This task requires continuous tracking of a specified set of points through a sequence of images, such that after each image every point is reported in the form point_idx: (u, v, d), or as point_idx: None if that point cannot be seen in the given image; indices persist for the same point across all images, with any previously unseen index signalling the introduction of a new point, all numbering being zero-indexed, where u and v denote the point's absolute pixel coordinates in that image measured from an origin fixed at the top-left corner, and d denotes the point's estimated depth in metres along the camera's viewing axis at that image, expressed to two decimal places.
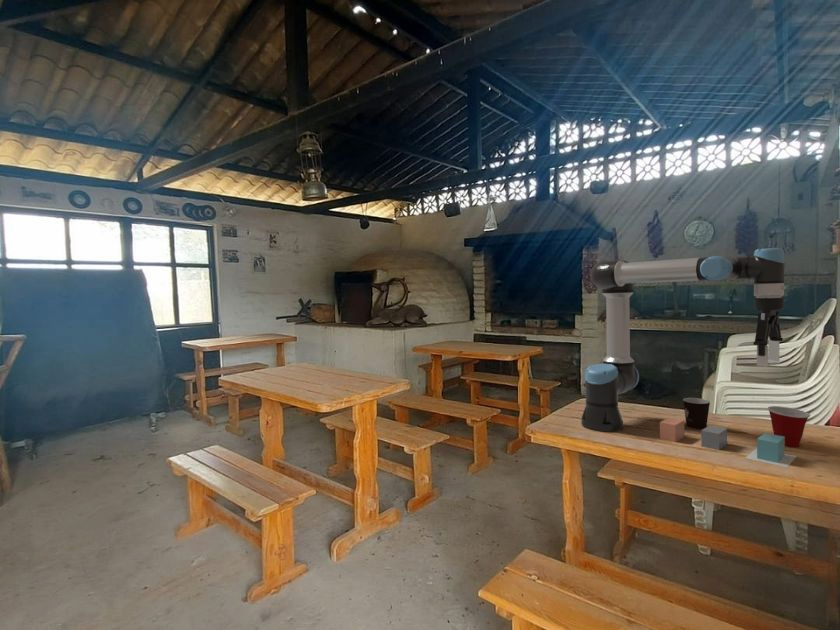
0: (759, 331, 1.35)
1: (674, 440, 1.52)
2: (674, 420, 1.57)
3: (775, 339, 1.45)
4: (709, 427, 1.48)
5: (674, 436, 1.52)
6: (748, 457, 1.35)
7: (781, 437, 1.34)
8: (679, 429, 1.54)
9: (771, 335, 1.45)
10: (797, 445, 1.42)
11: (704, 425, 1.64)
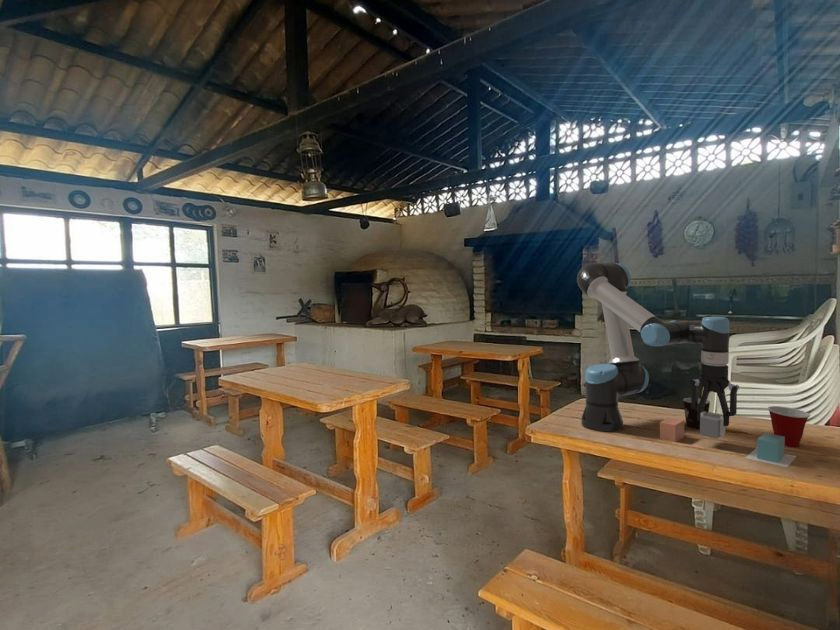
0: None
1: (674, 440, 1.52)
2: (674, 420, 1.57)
3: None
4: (708, 414, 1.48)
5: (674, 436, 1.52)
6: (748, 457, 1.35)
7: (781, 437, 1.34)
8: (679, 429, 1.54)
9: None
10: (797, 445, 1.42)
11: None
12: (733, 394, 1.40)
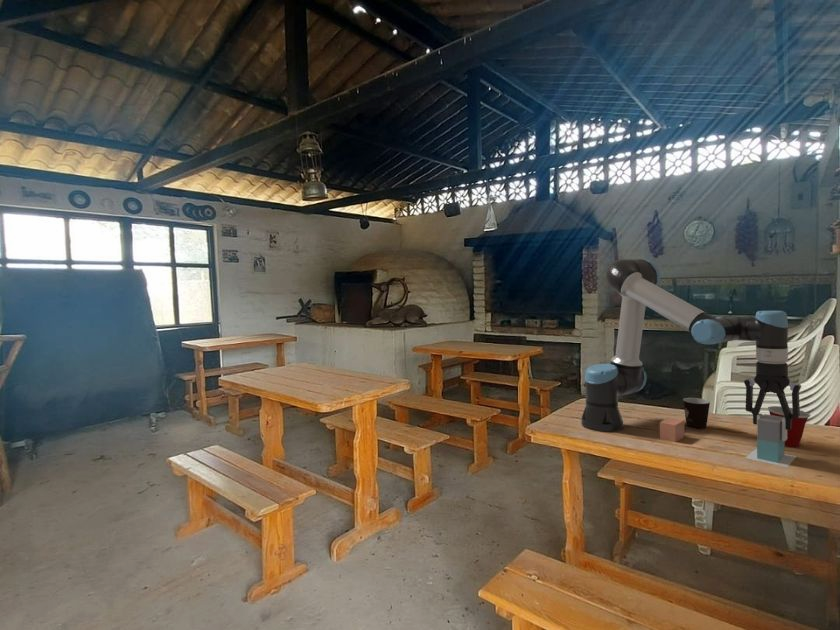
0: None
1: (674, 440, 1.52)
2: (674, 420, 1.57)
3: None
4: (765, 417, 1.36)
5: (674, 436, 1.52)
6: (748, 457, 1.35)
7: None
8: (679, 429, 1.54)
9: None
10: (797, 445, 1.42)
11: (704, 425, 1.64)
12: (796, 394, 1.28)
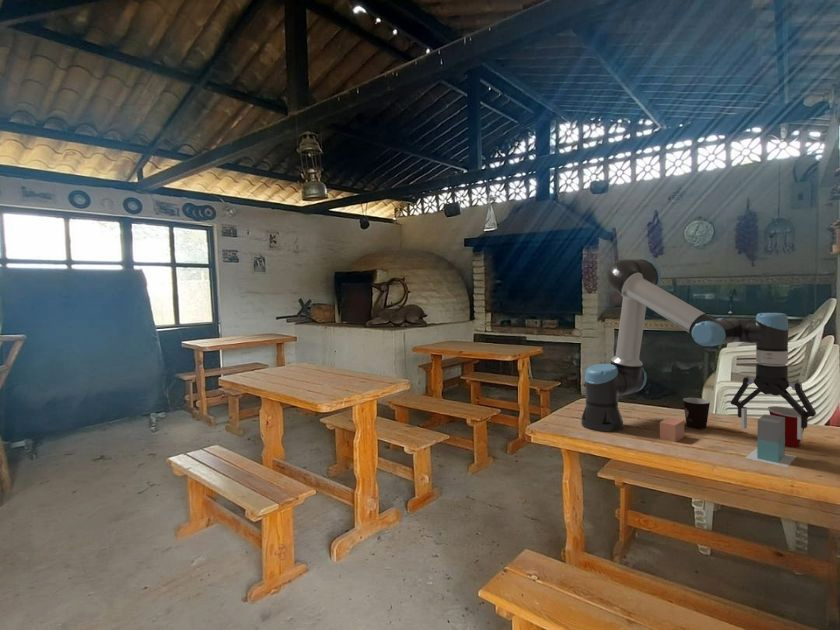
0: None
1: (674, 440, 1.52)
2: (674, 420, 1.57)
3: None
4: (765, 416, 1.36)
5: (674, 436, 1.52)
6: (748, 457, 1.35)
7: None
8: (679, 429, 1.54)
9: None
10: (797, 445, 1.42)
11: (704, 425, 1.64)
12: (800, 392, 1.27)
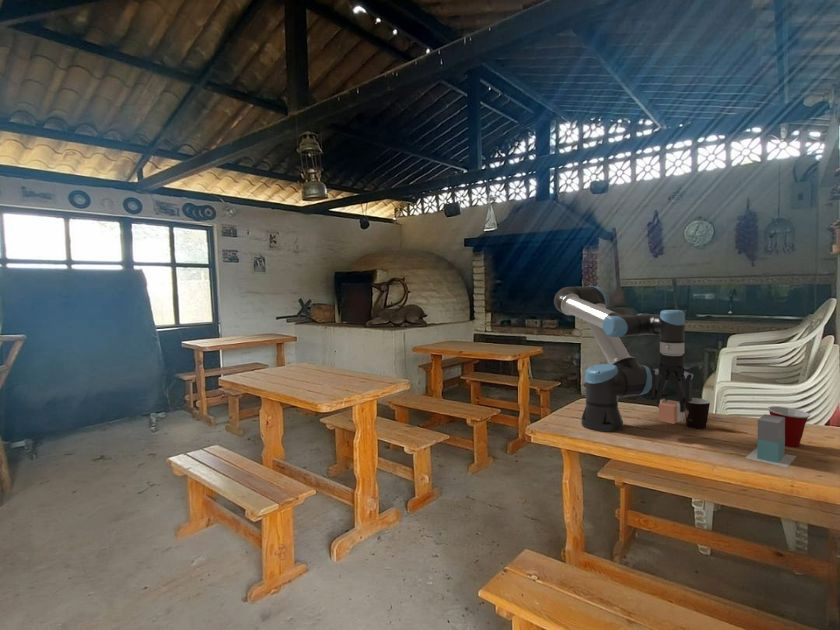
0: None
1: (673, 422, 1.52)
2: (673, 402, 1.57)
3: None
4: (765, 416, 1.36)
5: (673, 418, 1.52)
6: (748, 457, 1.35)
7: None
8: None
9: None
10: (797, 445, 1.42)
11: (704, 425, 1.64)
12: (688, 382, 1.50)
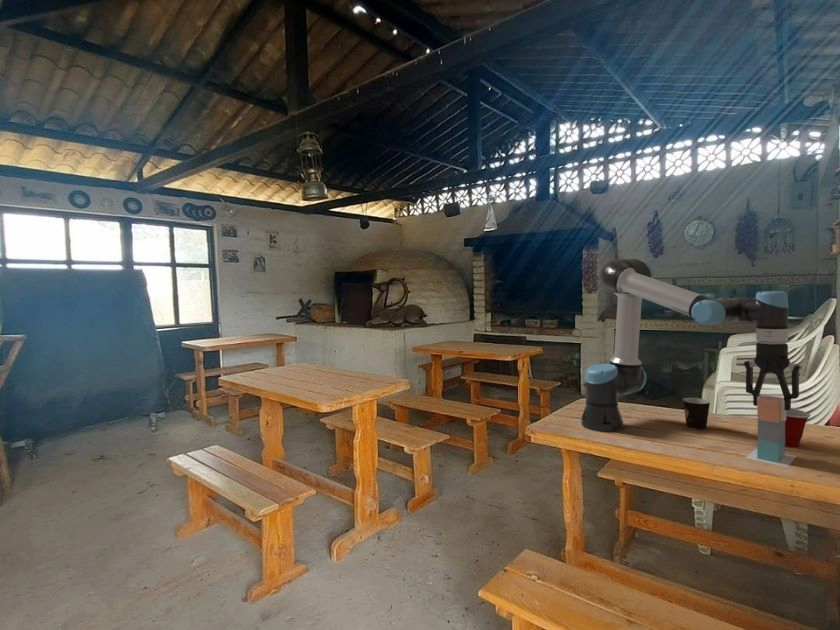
0: None
1: (777, 420, 1.29)
2: (773, 398, 1.34)
3: None
4: None
5: (777, 416, 1.29)
6: (748, 457, 1.35)
7: None
8: None
9: None
10: (797, 445, 1.42)
11: (704, 425, 1.64)
12: (795, 374, 1.28)
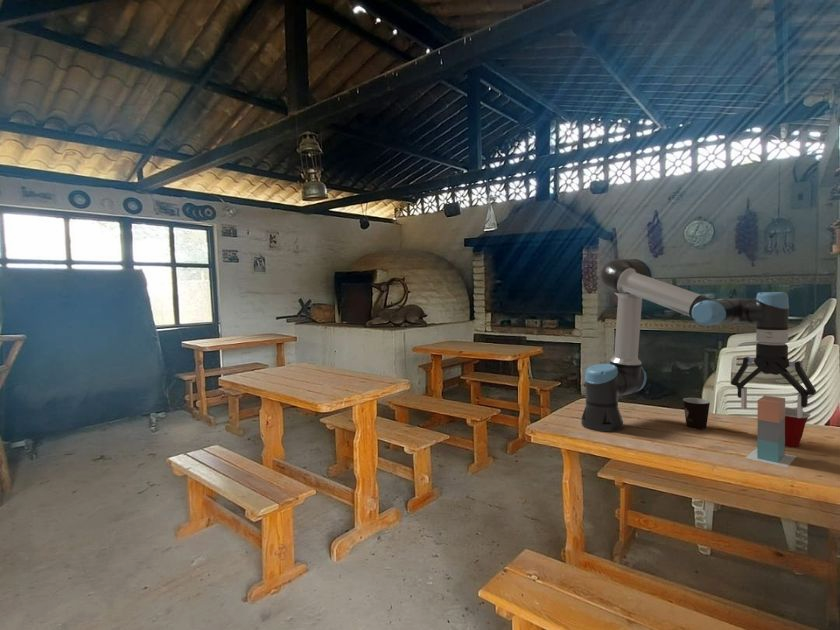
0: None
1: (777, 421, 1.30)
2: (773, 398, 1.34)
3: (801, 393, 1.28)
4: None
5: (777, 416, 1.29)
6: (748, 457, 1.35)
7: None
8: (781, 408, 1.32)
9: None
10: (797, 445, 1.42)
11: (704, 425, 1.64)
12: (800, 371, 1.27)
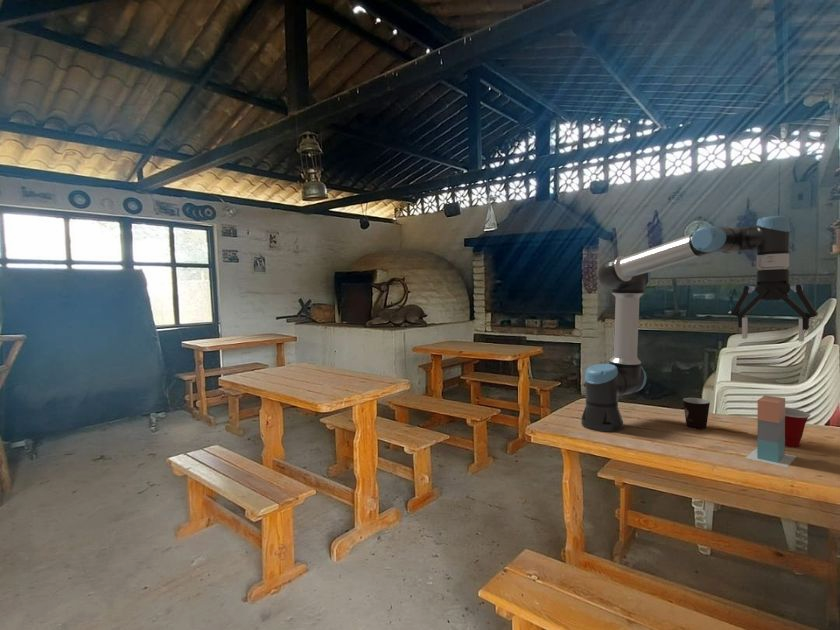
0: None
1: (777, 421, 1.30)
2: (773, 398, 1.34)
3: None
4: None
5: (777, 416, 1.29)
6: (748, 457, 1.35)
7: None
8: (781, 408, 1.32)
9: None
10: (797, 445, 1.42)
11: (704, 425, 1.64)
12: (801, 293, 1.26)
